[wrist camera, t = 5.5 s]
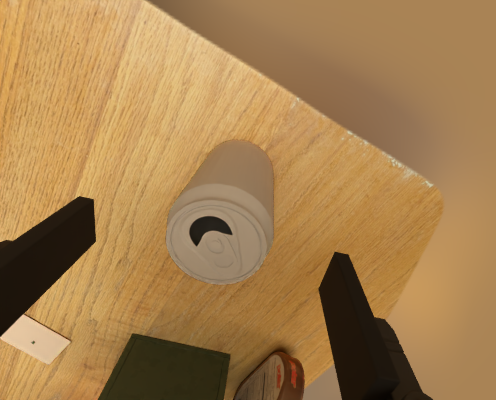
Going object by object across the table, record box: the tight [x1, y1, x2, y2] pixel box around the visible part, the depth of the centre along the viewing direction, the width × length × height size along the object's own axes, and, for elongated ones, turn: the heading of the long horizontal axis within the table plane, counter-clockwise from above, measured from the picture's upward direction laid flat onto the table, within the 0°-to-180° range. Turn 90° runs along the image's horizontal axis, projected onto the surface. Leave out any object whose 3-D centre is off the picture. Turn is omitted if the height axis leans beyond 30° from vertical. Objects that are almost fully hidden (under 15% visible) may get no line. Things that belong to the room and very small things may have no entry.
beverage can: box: [166, 140, 274, 285], centre depth 20 cm, size 6×6×12 cm
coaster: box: [0, 314, 71, 365], centre depth 39 cm, size 8×8×1 cm
